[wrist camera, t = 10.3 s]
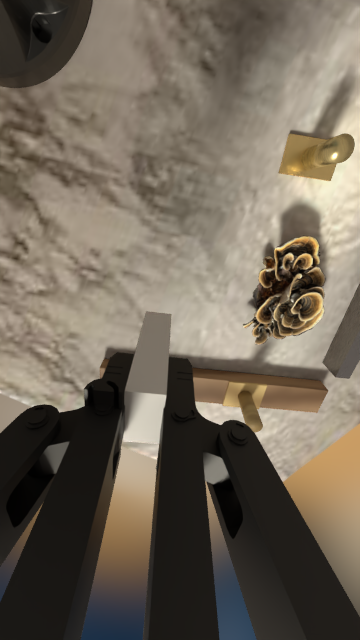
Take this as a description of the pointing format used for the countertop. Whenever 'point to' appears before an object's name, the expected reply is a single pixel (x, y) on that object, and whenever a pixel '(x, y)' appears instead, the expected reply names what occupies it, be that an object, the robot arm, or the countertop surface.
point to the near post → (315, 155)
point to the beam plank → (254, 392)
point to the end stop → (346, 342)
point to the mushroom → (289, 291)
